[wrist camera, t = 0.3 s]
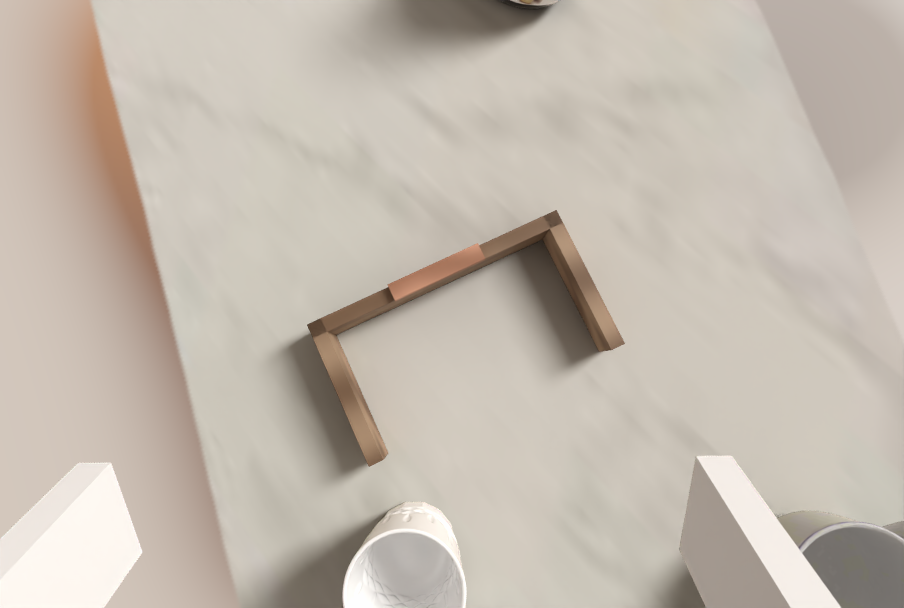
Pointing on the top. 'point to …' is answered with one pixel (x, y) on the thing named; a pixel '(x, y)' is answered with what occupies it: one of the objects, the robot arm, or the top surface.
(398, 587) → the white cup
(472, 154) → the top surface
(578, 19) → the top surface
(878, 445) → the top surface
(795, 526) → the teacup
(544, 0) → the spread jar
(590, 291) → the brown wooden open frame
